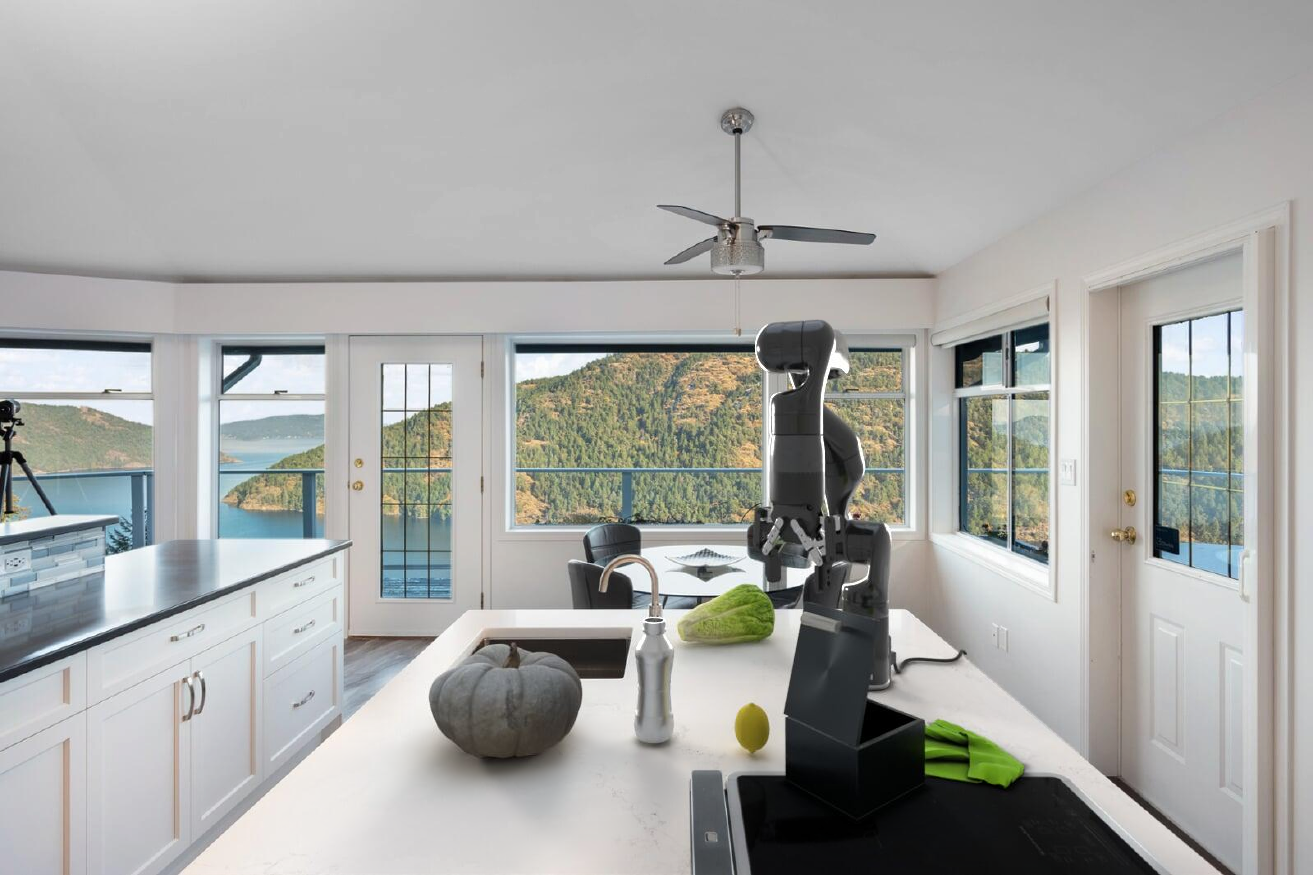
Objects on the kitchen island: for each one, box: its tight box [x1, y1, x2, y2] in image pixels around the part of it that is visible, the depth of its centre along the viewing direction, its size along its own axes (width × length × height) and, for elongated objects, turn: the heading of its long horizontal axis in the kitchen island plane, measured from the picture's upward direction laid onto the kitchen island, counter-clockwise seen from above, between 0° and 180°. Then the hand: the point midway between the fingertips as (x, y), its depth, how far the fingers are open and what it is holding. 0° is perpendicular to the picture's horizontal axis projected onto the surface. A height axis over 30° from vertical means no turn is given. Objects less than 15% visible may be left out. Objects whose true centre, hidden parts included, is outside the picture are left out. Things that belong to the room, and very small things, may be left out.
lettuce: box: [676, 583, 776, 645], centre depth 163 cm, size 14×24×14 cm
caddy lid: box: [782, 600, 880, 747], centre depth 91 cm, size 16×13×5 cm
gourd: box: [428, 642, 583, 759], centre depth 109 cm, size 25×25×17 cm
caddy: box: [784, 697, 926, 826], centre depth 95 cm, size 16×13×10 cm
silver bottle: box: [633, 616, 675, 744], centre depth 110 cm, size 6×7×20 cm
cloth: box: [925, 718, 1026, 789], centre depth 106 cm, size 20×22×2 cm
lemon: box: [734, 702, 771, 754], centre depth 105 cm, size 6×6×8 cm
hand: (797, 587), depth 89 cm, fingers open, 8 cm apart
